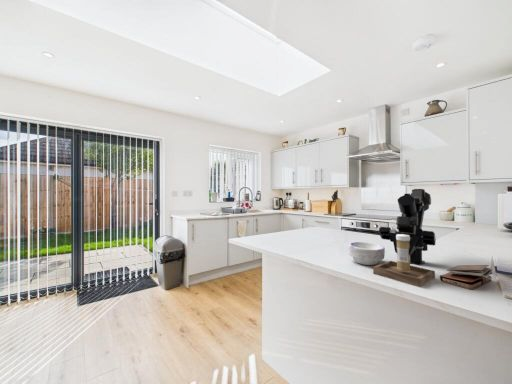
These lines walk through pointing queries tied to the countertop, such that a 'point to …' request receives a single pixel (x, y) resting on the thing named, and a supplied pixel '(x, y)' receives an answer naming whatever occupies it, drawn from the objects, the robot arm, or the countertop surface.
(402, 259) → the sprinkles bottle
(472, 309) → the countertop surface
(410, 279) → the walnut tray
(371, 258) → the paper bowls
